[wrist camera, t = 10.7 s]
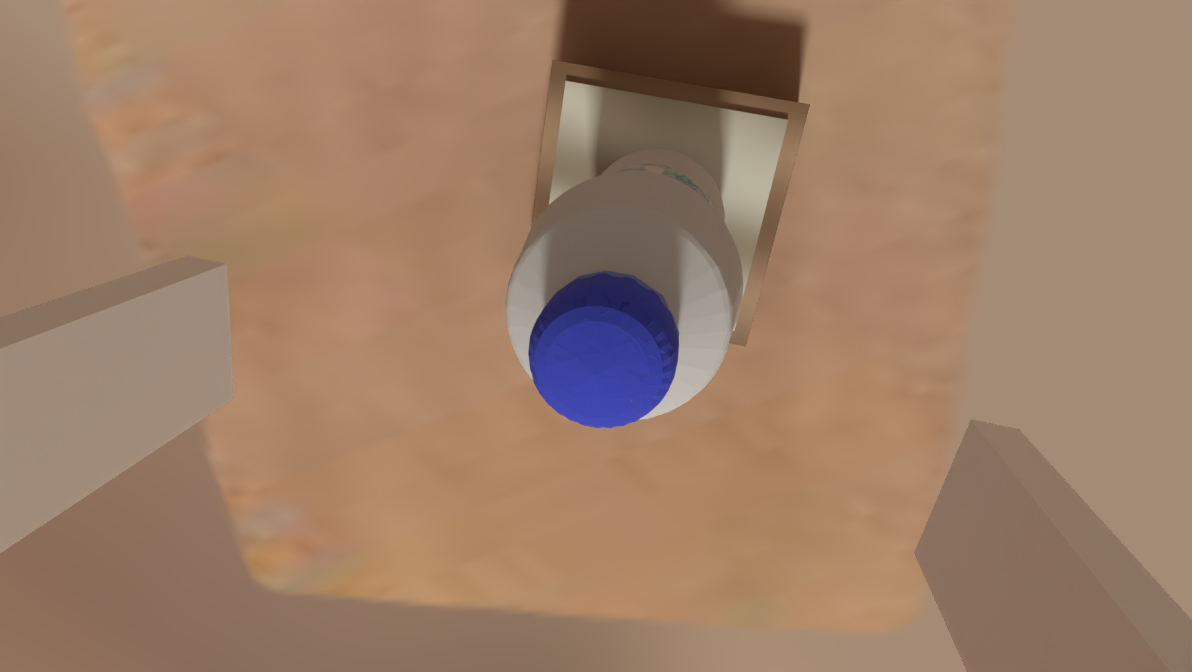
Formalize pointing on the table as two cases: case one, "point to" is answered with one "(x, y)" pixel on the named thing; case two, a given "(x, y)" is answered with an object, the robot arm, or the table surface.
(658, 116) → the picture frame
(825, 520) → the table surface
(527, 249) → the bottle
